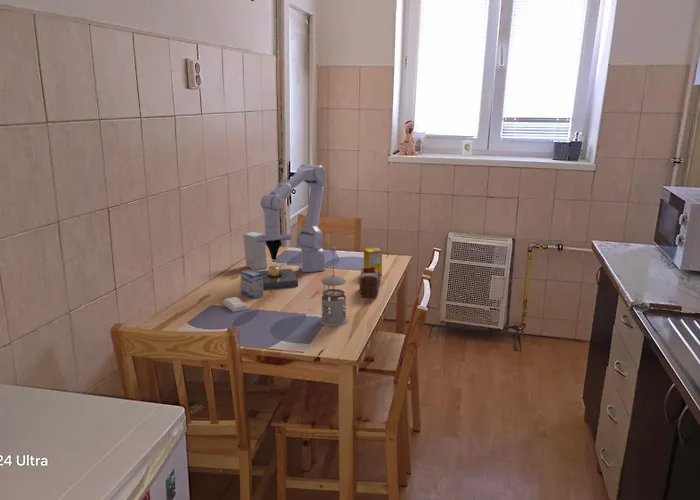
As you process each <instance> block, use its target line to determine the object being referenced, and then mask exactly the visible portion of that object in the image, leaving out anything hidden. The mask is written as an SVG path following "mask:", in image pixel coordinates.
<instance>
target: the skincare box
mask: <svg viewBox="0 0 700 500" xmlns="http://www.w3.org/2000/svg"><path fill="white" fill-rule="evenodd" d="M261 236H265V233H261V232H255V231H251V232H247V233H243V234H242V237H243V238H242V239H243V248H244V257H245V259H244V260H245V267H246V268H251V269H252V267H256V269H257V271H259V270H260V269H261V270H262V269H265V268H267V267H268V262H267V253H266V252H267V250H266V243H265V242H260V243H254V237H261Z"/></svg>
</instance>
